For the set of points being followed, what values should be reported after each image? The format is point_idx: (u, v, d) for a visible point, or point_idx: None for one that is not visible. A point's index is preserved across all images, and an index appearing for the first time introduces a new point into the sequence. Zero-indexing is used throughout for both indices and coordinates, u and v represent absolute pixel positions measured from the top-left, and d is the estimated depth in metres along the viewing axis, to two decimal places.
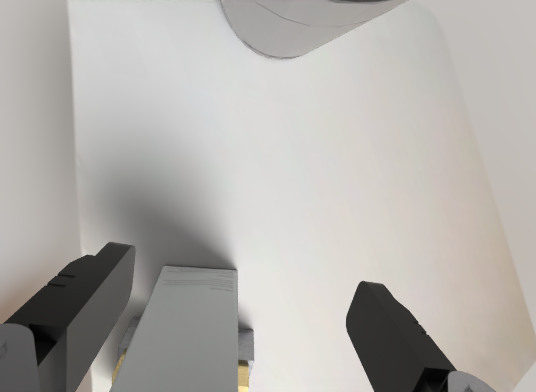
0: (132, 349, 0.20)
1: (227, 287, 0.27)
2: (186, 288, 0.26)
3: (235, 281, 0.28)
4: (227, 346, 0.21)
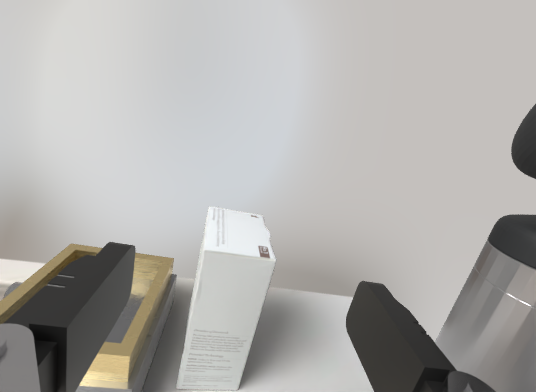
0: None
1: None
2: None
3: (242, 373, 0.25)
4: None
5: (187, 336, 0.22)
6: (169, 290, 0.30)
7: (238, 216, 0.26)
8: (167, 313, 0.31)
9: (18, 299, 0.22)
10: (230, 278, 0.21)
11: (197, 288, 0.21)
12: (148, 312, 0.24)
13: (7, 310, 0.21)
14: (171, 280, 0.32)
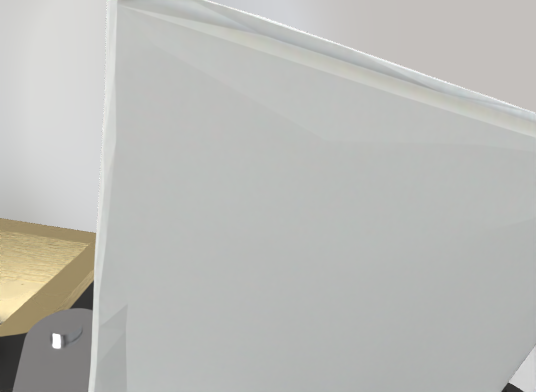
0: None
1: None
2: None
3: None
4: None
5: None
6: None
7: None
8: None
9: None
10: (339, 297, 0.03)
11: (94, 370, 0.03)
12: None
13: None
14: None
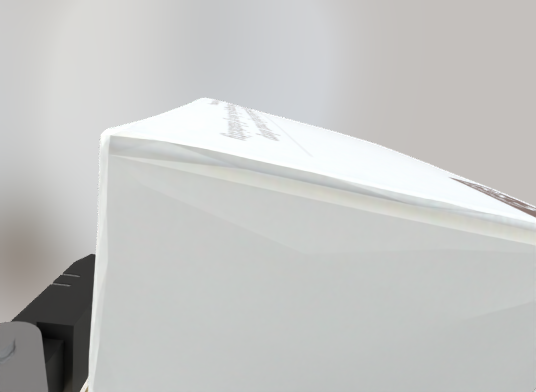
0: None
1: None
2: None
3: None
4: None
5: None
6: None
7: None
8: None
9: None
10: (320, 381, 0.03)
11: None
12: None
13: None
14: None
